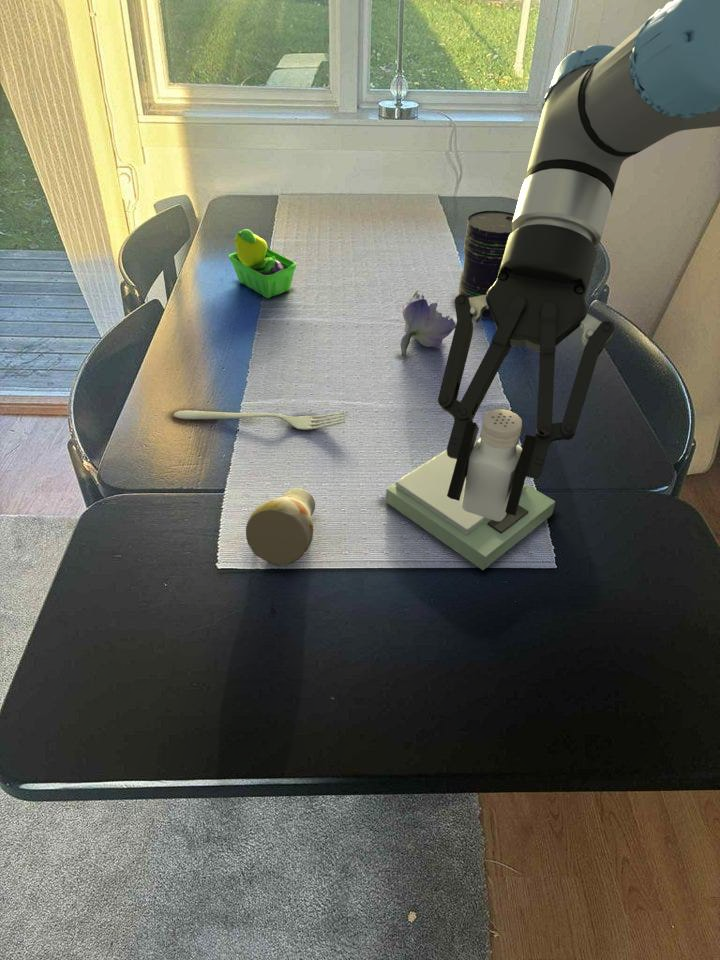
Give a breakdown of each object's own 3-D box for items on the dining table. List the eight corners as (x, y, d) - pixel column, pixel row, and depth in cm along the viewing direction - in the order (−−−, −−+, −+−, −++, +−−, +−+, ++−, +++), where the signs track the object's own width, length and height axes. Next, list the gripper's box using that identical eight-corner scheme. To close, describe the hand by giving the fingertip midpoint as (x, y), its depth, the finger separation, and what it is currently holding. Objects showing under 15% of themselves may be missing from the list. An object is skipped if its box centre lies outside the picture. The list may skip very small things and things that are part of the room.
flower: (423, 332, 103) (441, 279, 106) (376, 339, 108) (395, 288, 112) (451, 369, 109) (467, 318, 113) (406, 373, 114) (422, 324, 118)
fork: (177, 408, 99) (175, 397, 97) (348, 420, 97) (348, 409, 96) (170, 421, 96) (168, 411, 95) (345, 433, 95) (345, 423, 94)
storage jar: (486, 324, 119) (499, 237, 109) (445, 303, 124) (454, 219, 115) (524, 307, 123) (540, 223, 114) (484, 288, 129) (495, 206, 119)
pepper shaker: (458, 511, 63) (471, 426, 56) (473, 485, 65) (487, 401, 59) (501, 526, 61) (519, 440, 55) (514, 498, 64) (533, 413, 58)
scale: (552, 515, 83) (557, 496, 81) (482, 570, 76) (486, 551, 74) (455, 456, 91) (458, 438, 89) (385, 502, 84) (386, 483, 82)
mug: (331, 509, 84) (335, 482, 74) (297, 583, 80) (297, 565, 71) (274, 485, 84) (271, 455, 74) (238, 558, 81) (230, 536, 71)
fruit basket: (300, 290, 127) (297, 229, 120) (260, 305, 123) (255, 242, 115) (263, 270, 134) (258, 210, 126) (224, 283, 129) (216, 222, 122)
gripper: (652, 275, 61) (583, 535, 60) (459, 243, 65) (393, 484, 64) (667, 237, 54) (589, 532, 53) (449, 204, 58) (374, 475, 57)
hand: (481, 505), depth 59 cm, fingers closed on pepper shaker, 4 cm apart
